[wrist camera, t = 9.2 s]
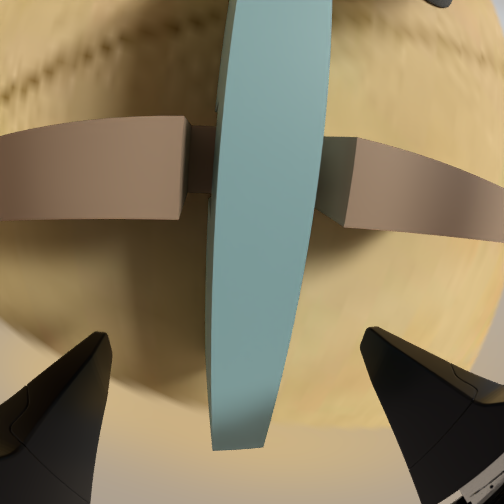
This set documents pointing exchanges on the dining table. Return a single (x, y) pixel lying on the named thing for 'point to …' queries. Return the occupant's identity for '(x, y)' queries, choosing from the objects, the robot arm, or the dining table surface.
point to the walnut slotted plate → (201, 173)
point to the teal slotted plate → (261, 204)
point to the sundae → (441, 3)
